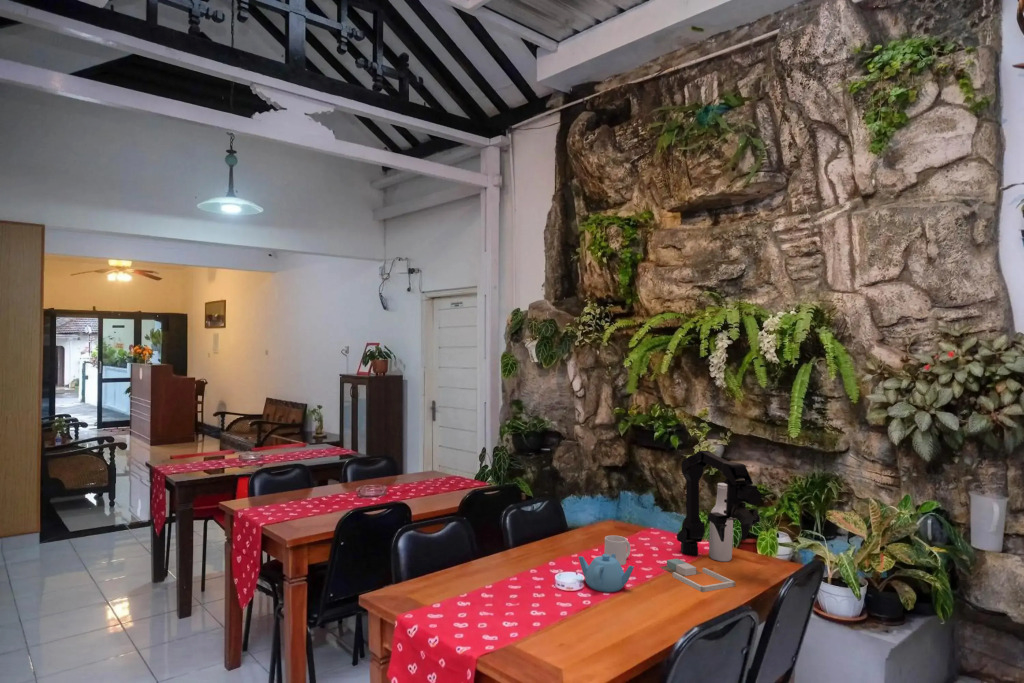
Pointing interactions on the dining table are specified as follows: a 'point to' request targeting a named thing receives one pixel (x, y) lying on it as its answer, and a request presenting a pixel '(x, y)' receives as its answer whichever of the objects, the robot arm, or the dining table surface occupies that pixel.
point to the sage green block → (674, 563)
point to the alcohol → (716, 546)
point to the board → (675, 571)
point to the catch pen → (726, 584)
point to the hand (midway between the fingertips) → (733, 540)
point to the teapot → (605, 573)
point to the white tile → (685, 569)
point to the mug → (617, 547)
